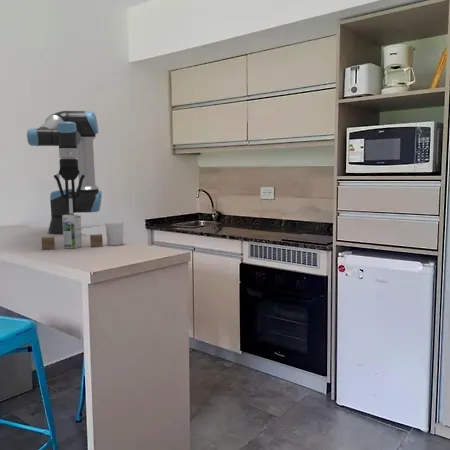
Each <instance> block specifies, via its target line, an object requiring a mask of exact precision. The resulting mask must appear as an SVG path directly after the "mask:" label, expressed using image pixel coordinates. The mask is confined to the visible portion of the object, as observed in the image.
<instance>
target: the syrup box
mask: <svg viewBox="0 0 450 450" xmlns="http://www.w3.org/2000/svg"><path fill="white" fill-rule="evenodd" d="M81 216H82V215H81V214H74V215H73V214H66V215H62V221H63V234H62V235H63V236H62V237H63V238H62V239H63V249H72V250H73V249H77V248H81V247H82V246H83V240H82V239H83V238H82V218H81Z"/></svg>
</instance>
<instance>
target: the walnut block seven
mask: <svg viewBox="0 0 450 450" xmlns="http://www.w3.org/2000/svg"><path fill="white" fill-rule="evenodd" d="M55 249H56V243H55V236H41V251H50V250H51V251H52V250H53V251H54V250H55Z"/></svg>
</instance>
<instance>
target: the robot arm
mask: <svg viewBox="0 0 450 450" xmlns="http://www.w3.org/2000/svg"><path fill="white" fill-rule="evenodd" d="M97 134H99V125H98V121H97V116H96V113H95V112H94V111H90V110H89V111H88V110H61V111H58V112H54V113H52V114H50V115H49V116H48V117H46V119H45V120H44V123H42V124H41V125H40V126H39V127H38V128H35V127H34V128H28V130H27V131H26V139H27V143H28V145H29V146H33V147H35V146H36V147H51V146H52V147H58V157H59V158H60V159H59V170H58V173H56V174H54V175H53V178H54V179H55V180H56V184H57V187H58V190H54V191H51V192H50V198H49V201H50V218H51V219H50V223H49V227H48V234H51V235H52V234H54V235H60V234H61V235H63V221H62V215H66V214H73V215H75V214H77V213H81V214H82V213H83V214H84V213H90V214H92V213H97V212H100V211H101V205H102V191H101V190H99V187H98V186H97V184H96V174H95V173H96V172H95V171H96V169H95V157H94V156H95V155H94V153H95V152H94V140H95V139H96V137H97ZM60 176H61V177H60ZM61 178H62V179H63V180H64V185H65V189H63V187H62V183H61V180H60V179H61ZM77 178H78V186H77V187H76V188H75V180H76V179H77ZM69 181H71V188H69Z"/></svg>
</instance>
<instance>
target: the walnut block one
mask: <svg viewBox="0 0 450 450" xmlns="http://www.w3.org/2000/svg"><path fill="white" fill-rule="evenodd" d="M89 237H90V238H89V239H90V240H89V242H90V248H101V247H102V248H103V247H104V245H103V242H104V241H103V233H102V234H101V233H100V234H99V233H98V234H96V233H95V234H89Z"/></svg>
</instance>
